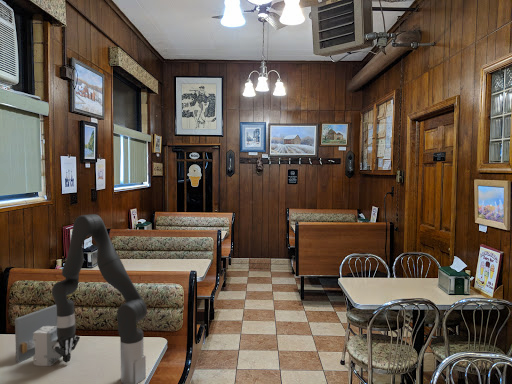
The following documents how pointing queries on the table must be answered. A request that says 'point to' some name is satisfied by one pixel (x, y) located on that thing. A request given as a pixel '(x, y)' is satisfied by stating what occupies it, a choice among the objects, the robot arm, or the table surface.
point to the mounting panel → (32, 328)
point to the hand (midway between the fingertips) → (66, 361)
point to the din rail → (27, 346)
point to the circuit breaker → (45, 346)
